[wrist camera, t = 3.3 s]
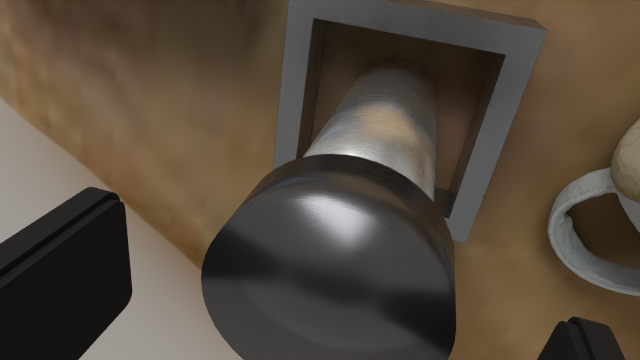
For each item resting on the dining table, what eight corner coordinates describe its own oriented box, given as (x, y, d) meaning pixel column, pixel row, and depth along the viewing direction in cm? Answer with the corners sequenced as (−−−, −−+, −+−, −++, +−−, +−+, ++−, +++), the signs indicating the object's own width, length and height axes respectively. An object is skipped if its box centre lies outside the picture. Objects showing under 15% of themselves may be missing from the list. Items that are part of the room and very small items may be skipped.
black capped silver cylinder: (465, 61, 18) (496, 247, 7) (433, 167, 20) (417, 431, 9) (347, 38, 19) (200, 171, 7) (330, 143, 21) (201, 359, 10)
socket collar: (534, 20, 17) (547, 30, 14) (463, 213, 21) (465, 243, 19) (309, -21, 18) (290, -16, 16) (287, 169, 22) (270, 192, 20)
